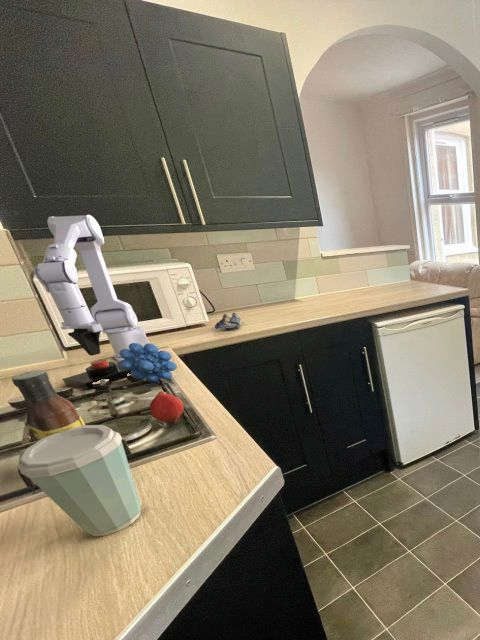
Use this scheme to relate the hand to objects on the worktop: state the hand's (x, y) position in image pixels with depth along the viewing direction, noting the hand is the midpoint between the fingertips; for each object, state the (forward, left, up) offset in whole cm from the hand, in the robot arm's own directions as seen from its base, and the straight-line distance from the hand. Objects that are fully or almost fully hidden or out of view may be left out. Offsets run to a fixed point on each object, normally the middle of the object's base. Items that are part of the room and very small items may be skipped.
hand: (95, 354), depth 120 cm
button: (0, 0, -4) cm, 4 cm away
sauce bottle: (+11, +60, -8) cm, 62 cm away
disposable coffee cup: (+10, +84, -8) cm, 85 cm away
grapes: (-8, +18, -8) cm, 21 cm away
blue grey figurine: (-43, -30, -8) cm, 53 cm away
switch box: (0, 0, -8) cm, 8 cm away
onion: (-5, +51, -8) cm, 52 cm away
